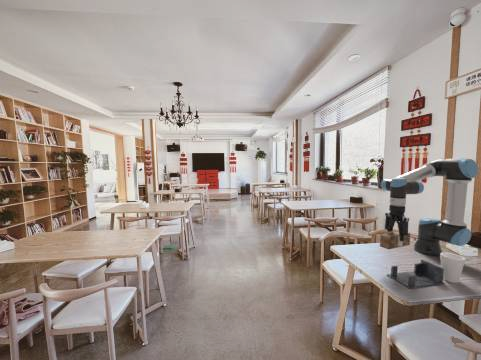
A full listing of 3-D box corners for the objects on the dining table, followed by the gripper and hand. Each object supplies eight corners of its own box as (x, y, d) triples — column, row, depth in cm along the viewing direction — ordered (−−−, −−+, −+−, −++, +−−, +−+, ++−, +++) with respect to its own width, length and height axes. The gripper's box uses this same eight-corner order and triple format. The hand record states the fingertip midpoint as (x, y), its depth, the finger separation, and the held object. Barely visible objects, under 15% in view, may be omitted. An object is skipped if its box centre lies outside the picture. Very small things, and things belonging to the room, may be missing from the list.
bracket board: (419, 271, 127) (420, 258, 126) (444, 283, 114) (446, 269, 114) (387, 275, 122) (387, 262, 122) (409, 288, 110) (410, 273, 109)
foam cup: (465, 286, 112) (467, 261, 111) (441, 281, 117) (443, 257, 116) (459, 278, 120) (461, 254, 119) (437, 273, 125) (438, 251, 124)
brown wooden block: (400, 242, 135) (401, 231, 135) (409, 245, 131) (410, 233, 130) (380, 246, 129) (380, 234, 128) (388, 249, 124) (389, 237, 124)
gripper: (378, 202, 136) (376, 239, 138) (407, 208, 118) (404, 250, 120) (389, 201, 138) (386, 238, 140) (418, 208, 120) (415, 249, 121)
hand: (395, 244), depth 130 cm, fingers closed on brown wooden block, 6 cm apart
